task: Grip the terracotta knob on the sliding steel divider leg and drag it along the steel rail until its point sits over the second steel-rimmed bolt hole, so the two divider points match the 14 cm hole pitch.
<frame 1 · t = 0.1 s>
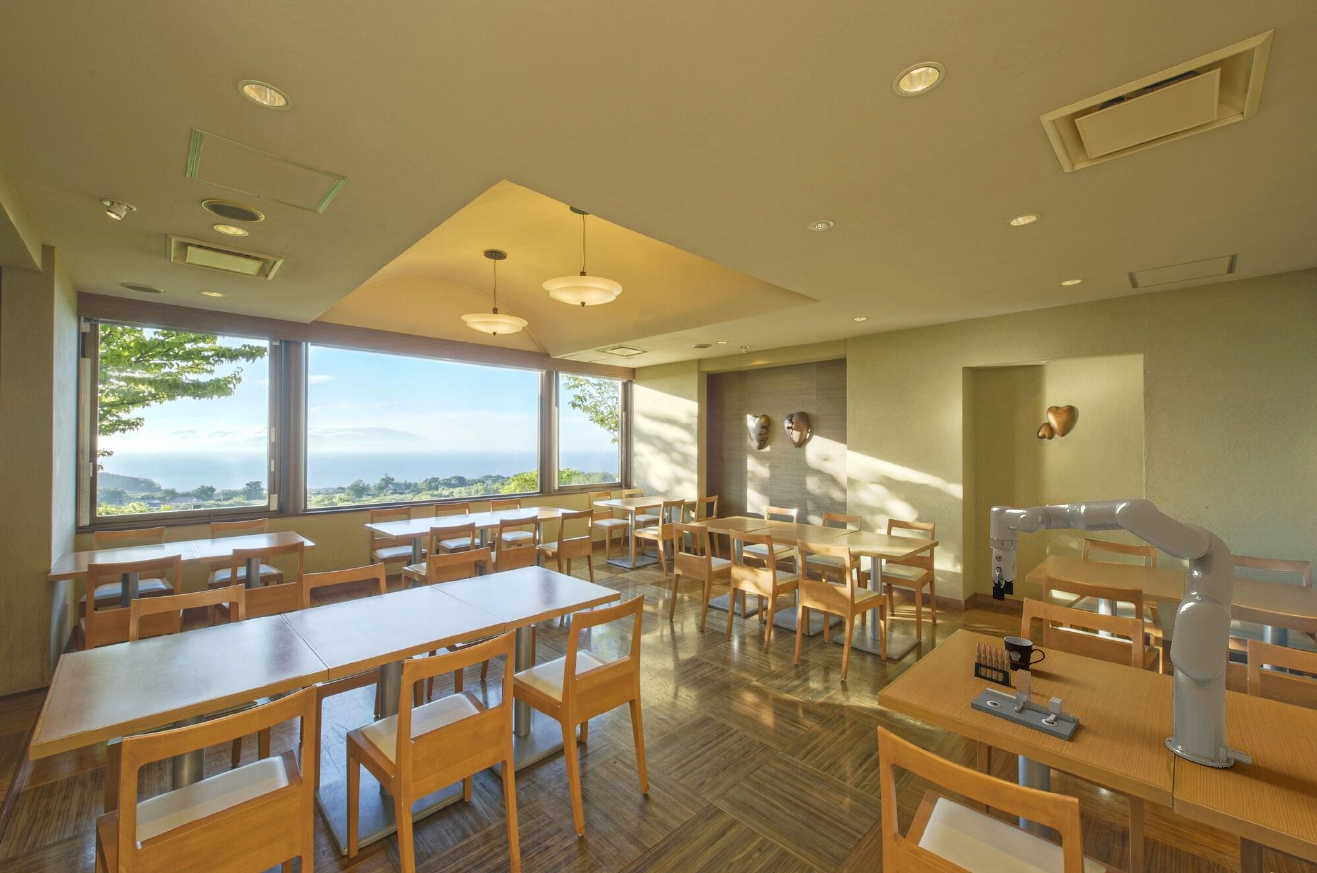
hand: (1003, 596, 174), 31 cm above the table, tool pointing down, fingers open, 9 cm apart
sliding leg: (1020, 690, 160), point 7 cm above the table, slide at 0.0 cm
pitch board: (1023, 715, 159), on the table
coffee mug: (1021, 670, 191), on the table
ammunition clip: (992, 681, 182), on the table
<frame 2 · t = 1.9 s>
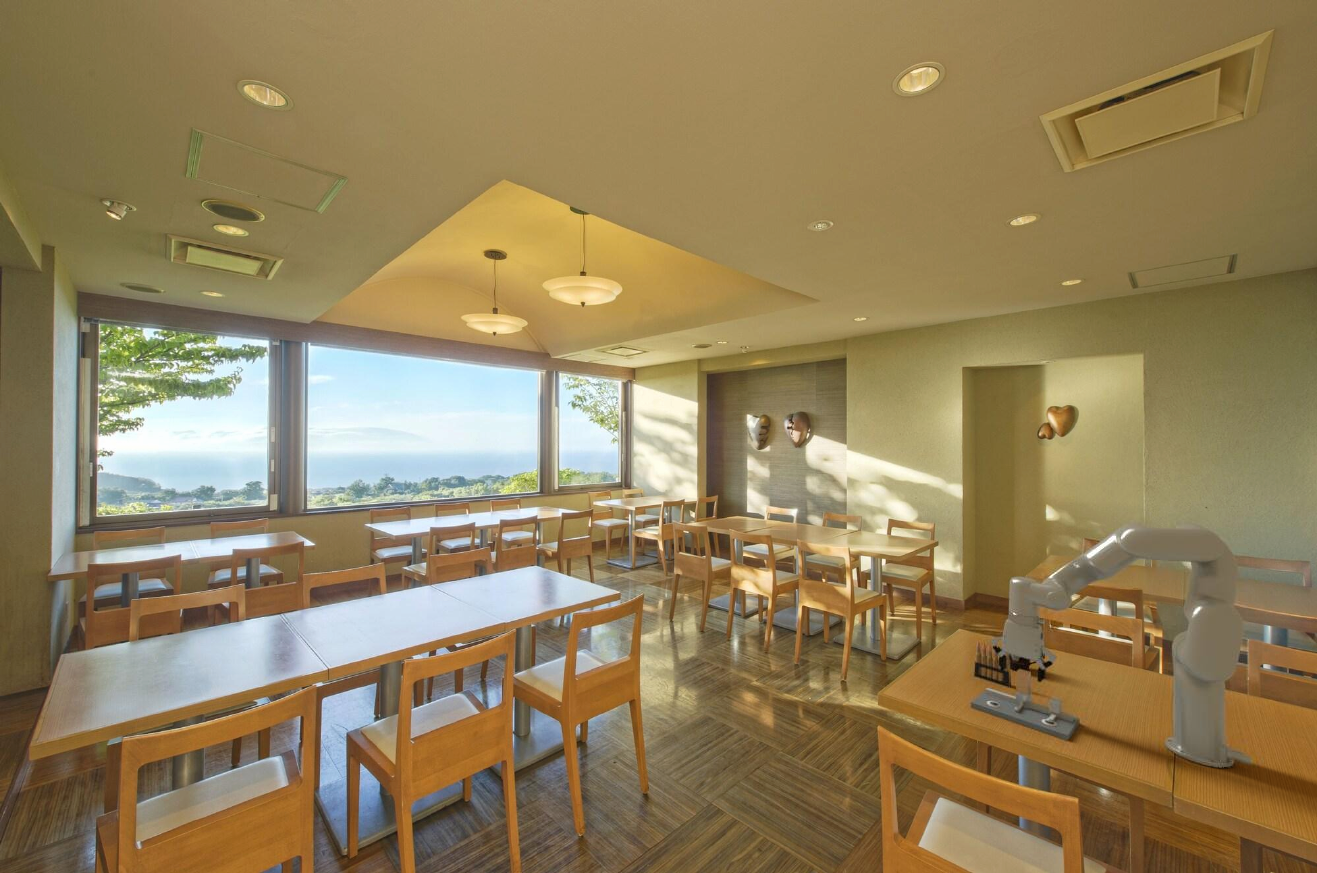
hand: (1021, 674, 162), 11 cm above the table, tool pointing down, fingers open, 9 cm apart
nothing on the table moved.
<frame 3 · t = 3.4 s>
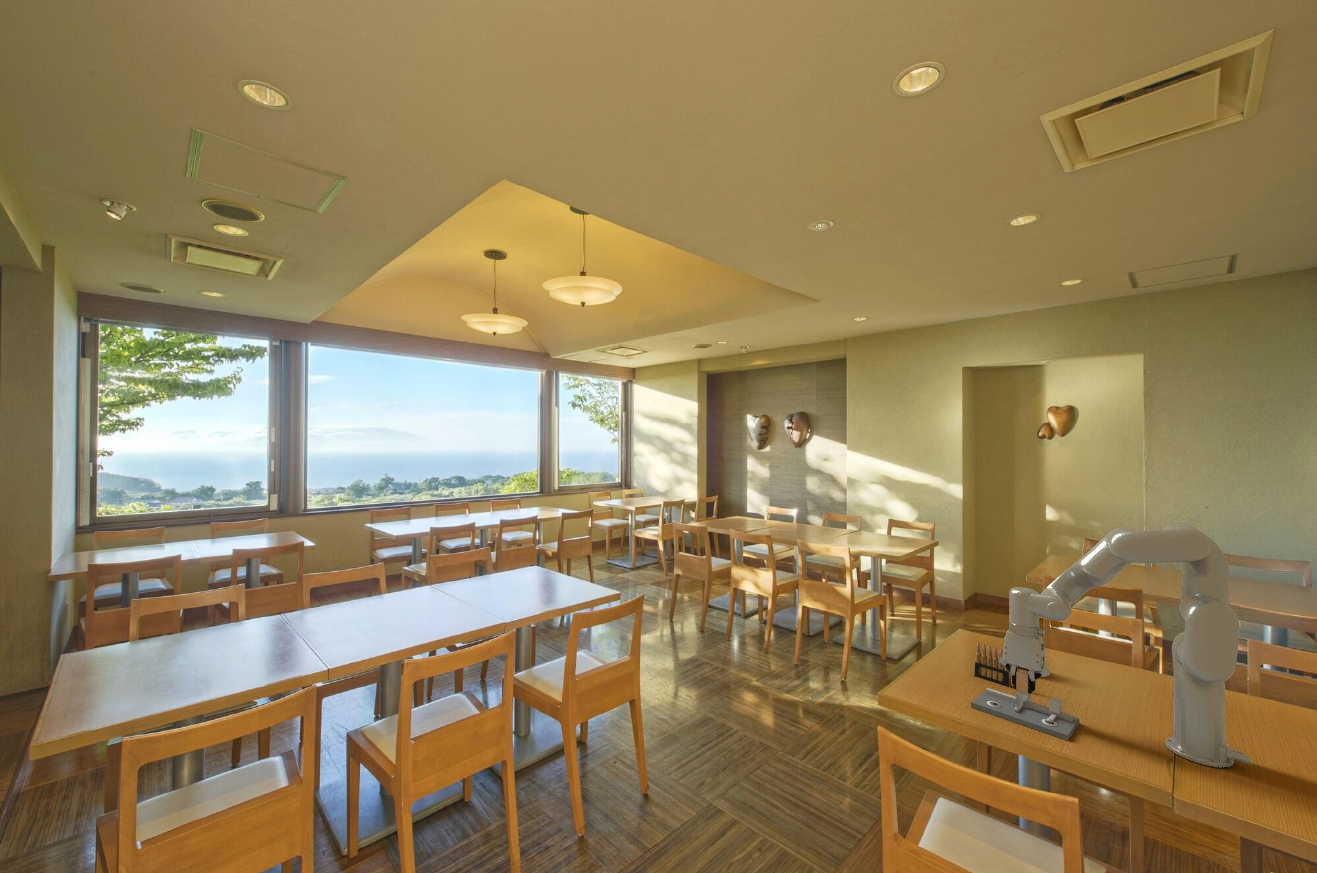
hand: (1023, 689, 162), 6 cm above the table, tool pointing down, fingers closed on sliding leg, 3 cm apart
sliding leg: (1020, 690, 160), point 7 cm above the table, slide at 0.0 cm, touching gripper
everything else where it was.
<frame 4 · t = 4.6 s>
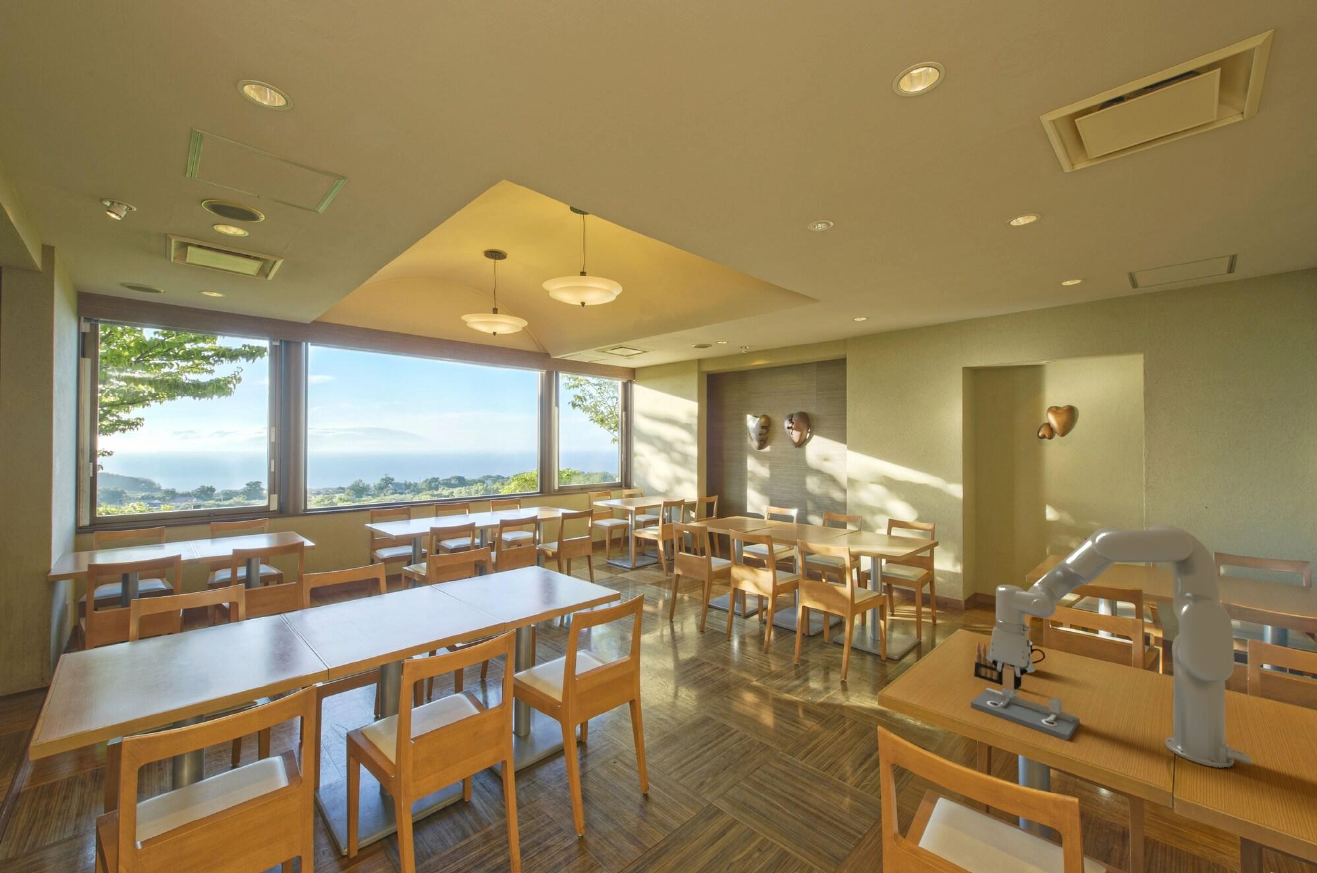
hand: (1009, 685, 165), 6 cm above the table, tool pointing down, fingers closed on sliding leg, 3 cm apart
sliding leg: (1007, 686, 163), point 7 cm above the table, slide at 3.6 cm, touching gripper
everything else where it was.
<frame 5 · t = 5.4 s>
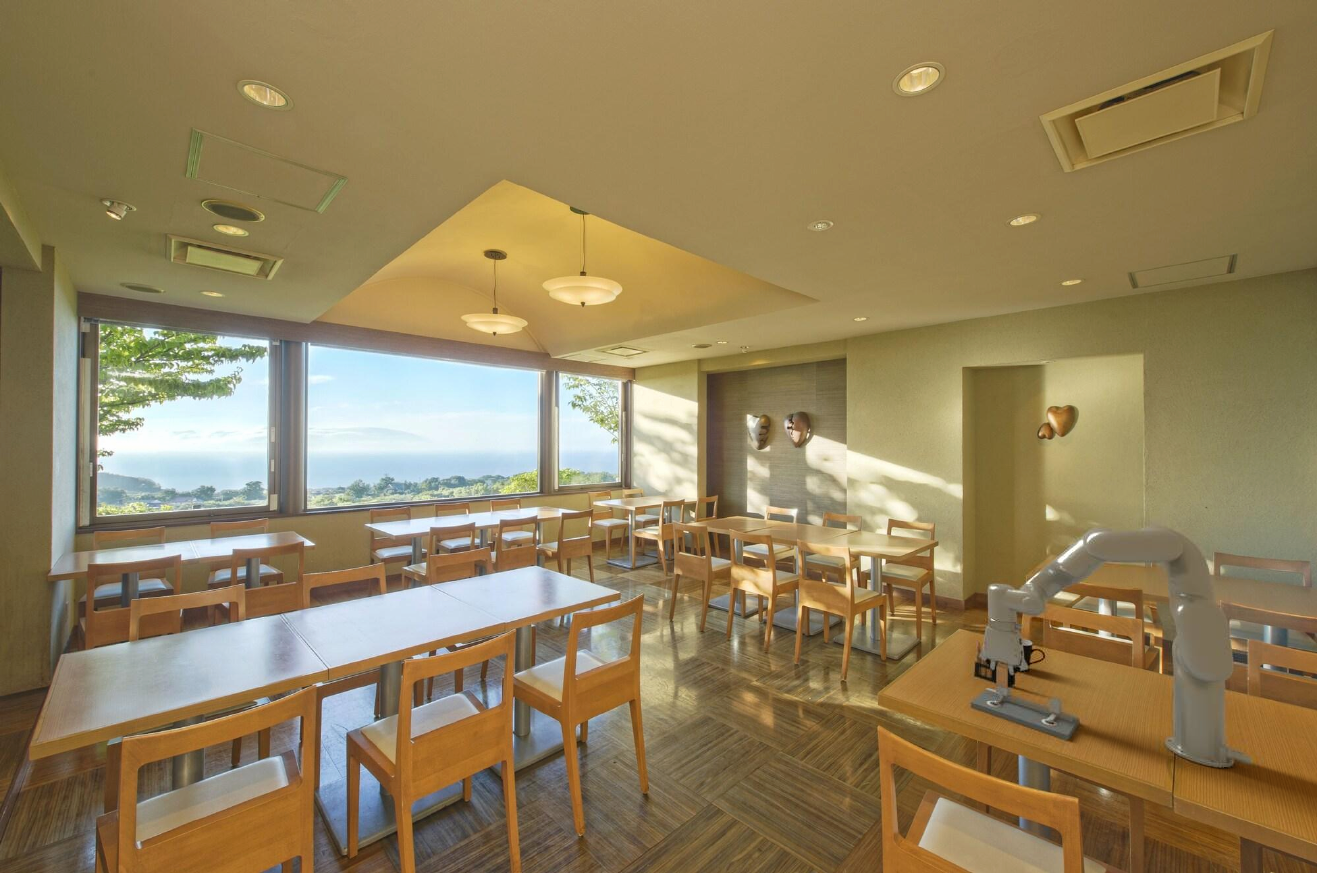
hand: (1003, 683, 166), 6 cm above the table, tool pointing down, fingers closed on sliding leg, 3 cm apart
sliding leg: (1000, 684, 164), point 7 cm above the table, slide at 5.3 cm, touching gripper, pitch board
everything else where it was.
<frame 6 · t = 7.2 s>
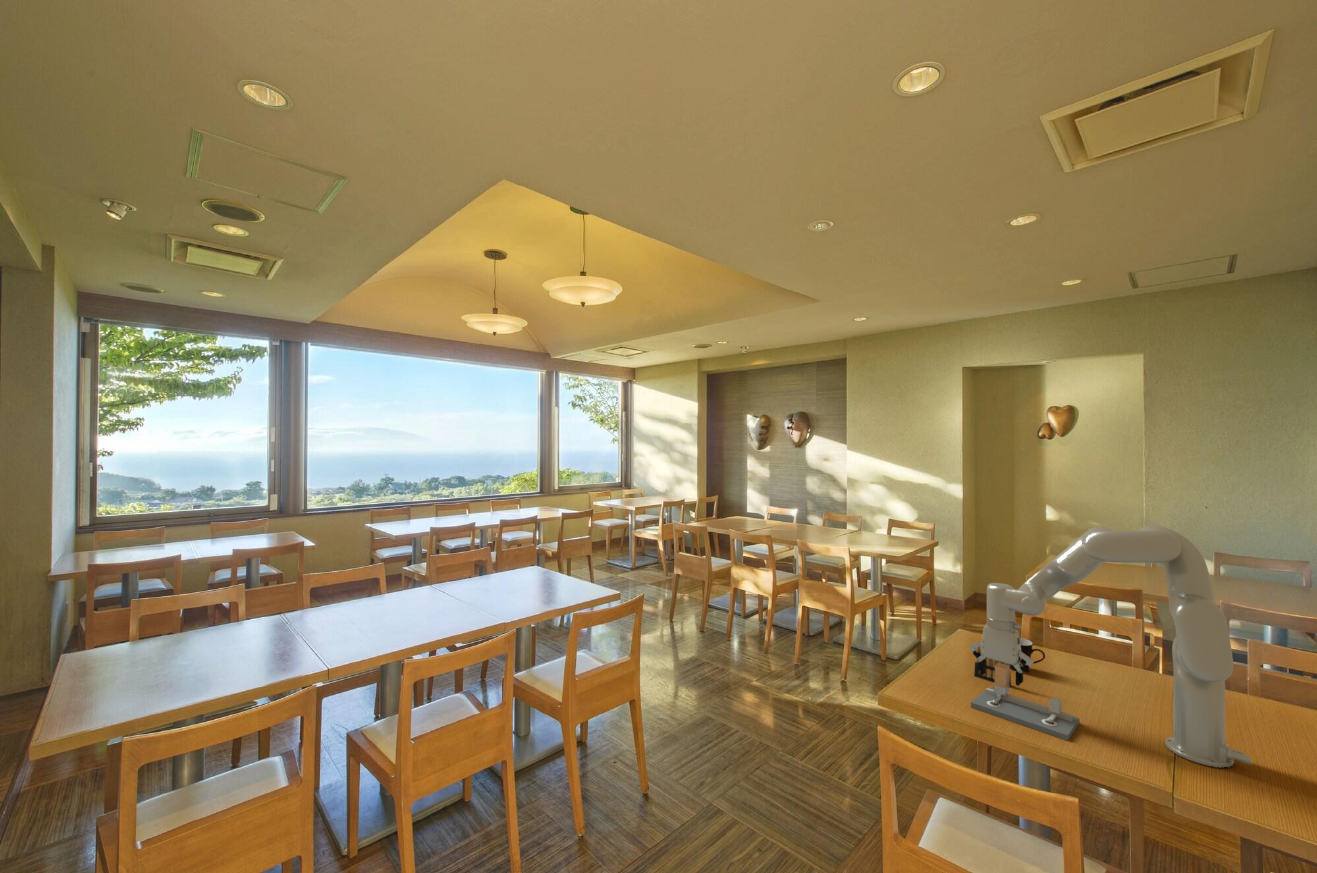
hand: (1000, 678, 167), 7 cm above the table, tool pointing down, fingers open, 9 cm apart
sliding leg: (999, 683, 165), point 7 cm above the table, slide at 5.8 cm, touching pitch board
everything else where it was.
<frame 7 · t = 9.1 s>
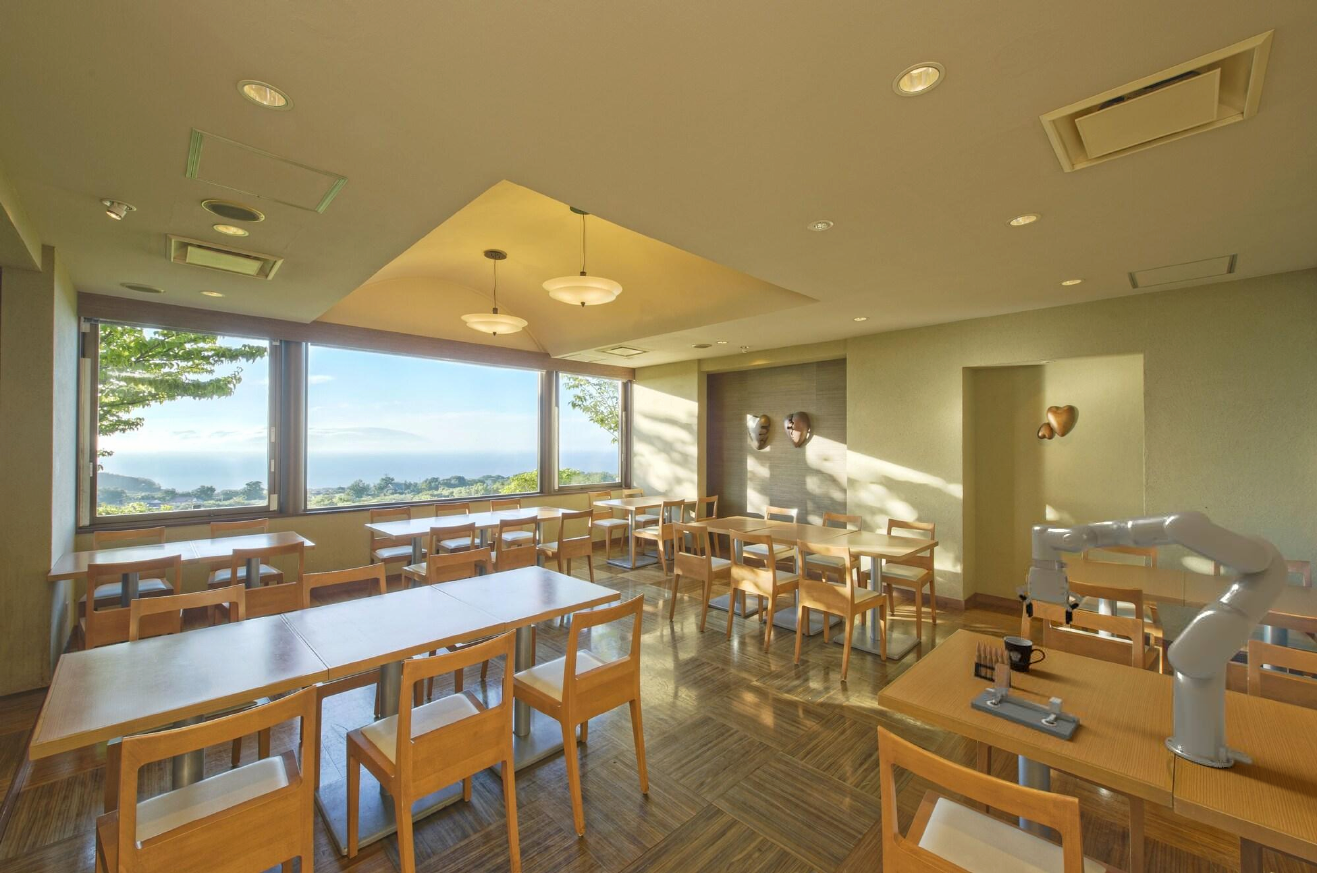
hand: (1048, 619, 166), 26 cm above the table, tool pointing down, fingers open, 9 cm apart
nothing on the table moved.
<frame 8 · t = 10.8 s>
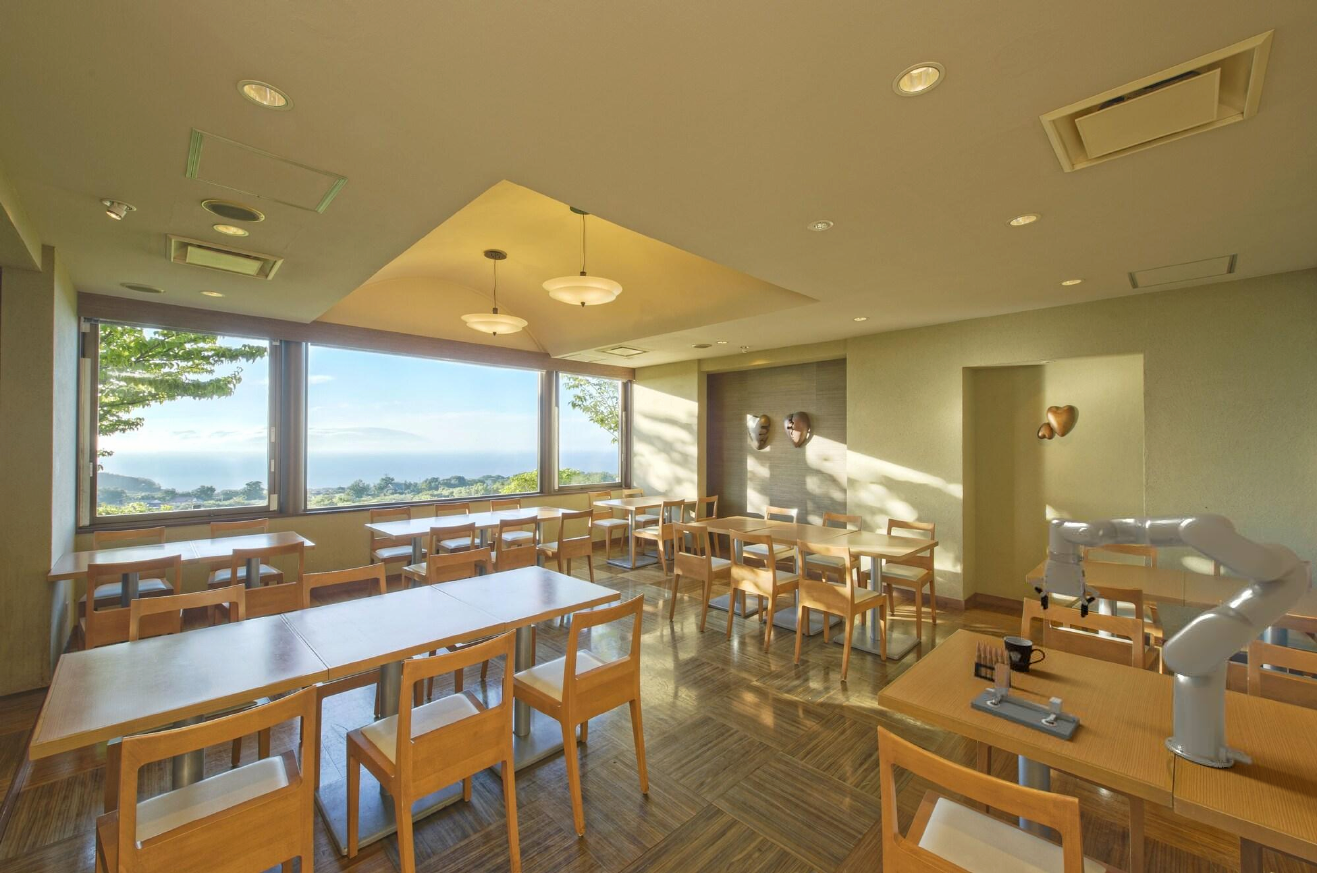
hand: (1064, 612, 167), 28 cm above the table, tool pointing down, fingers open, 9 cm apart
nothing on the table moved.
at the end: sliding leg slide at 5.8 cm; the gripper is holding nothing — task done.
